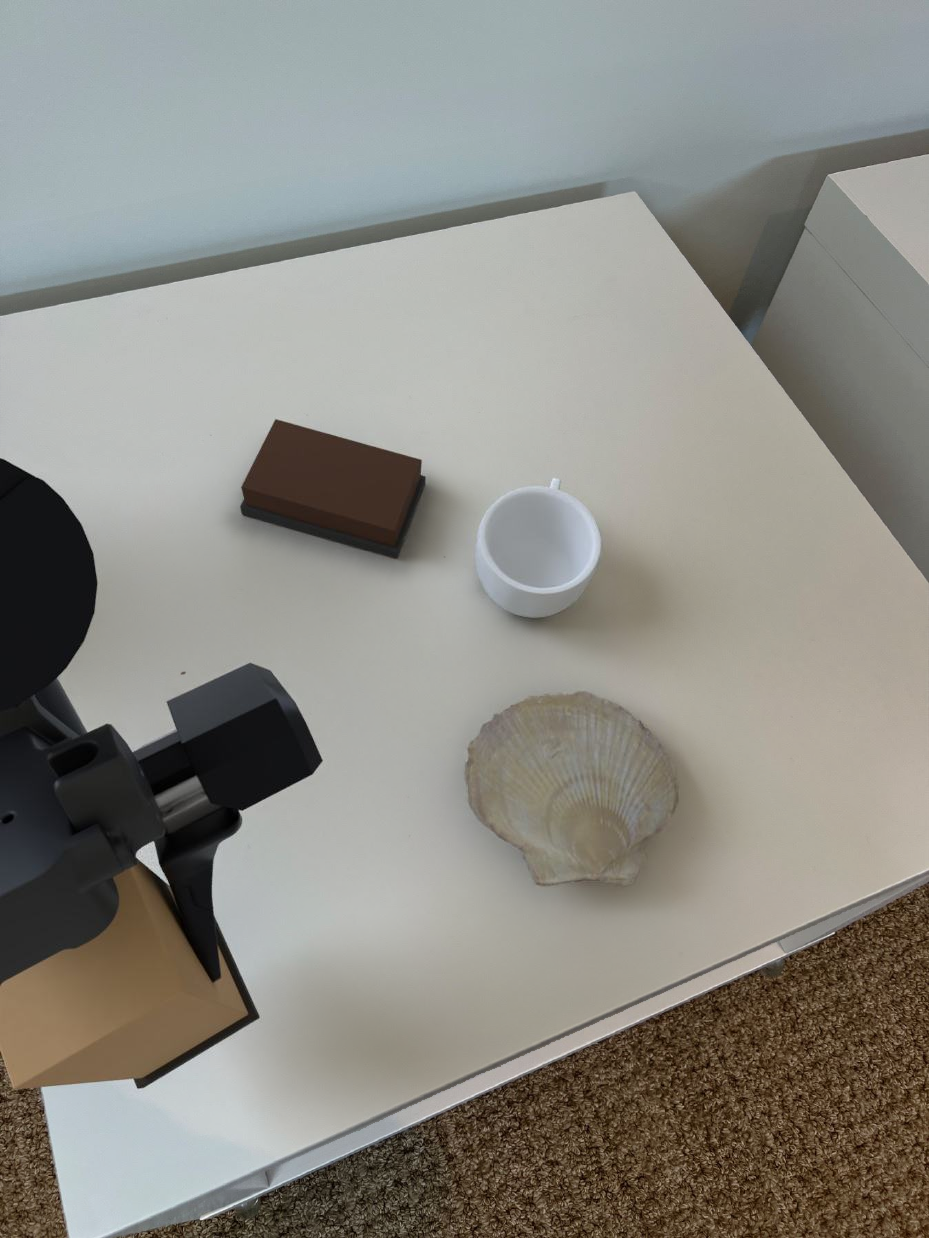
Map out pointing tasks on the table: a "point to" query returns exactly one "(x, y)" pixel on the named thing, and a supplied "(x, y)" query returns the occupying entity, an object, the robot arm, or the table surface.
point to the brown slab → (333, 488)
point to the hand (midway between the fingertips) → (147, 1012)
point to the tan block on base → (121, 999)
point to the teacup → (537, 550)
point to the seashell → (571, 786)
